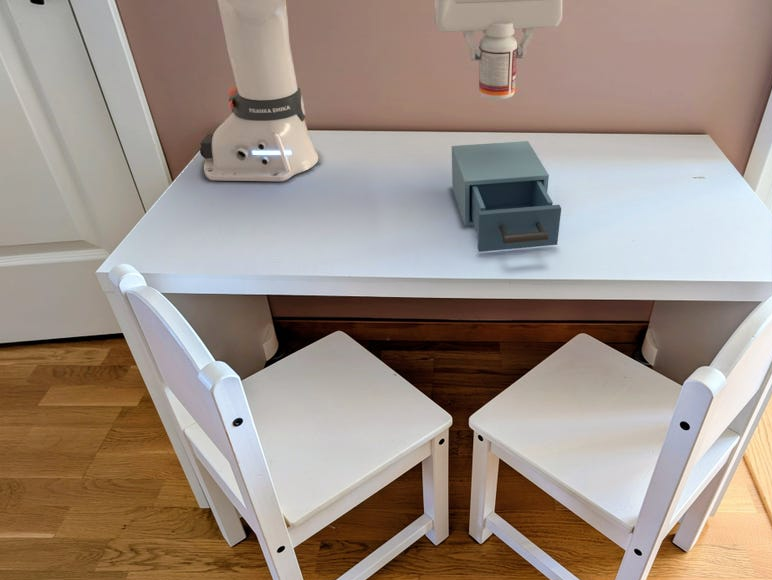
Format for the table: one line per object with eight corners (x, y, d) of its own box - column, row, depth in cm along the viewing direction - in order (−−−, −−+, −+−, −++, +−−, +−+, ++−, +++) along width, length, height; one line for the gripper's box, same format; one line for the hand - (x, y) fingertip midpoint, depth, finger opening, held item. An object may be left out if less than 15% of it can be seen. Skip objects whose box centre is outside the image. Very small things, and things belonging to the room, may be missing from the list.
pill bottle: (498, 85, 107) (500, 13, 100) (522, 95, 104) (526, 21, 96) (471, 93, 104) (471, 19, 97) (495, 103, 101) (496, 27, 93)
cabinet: (544, 220, 110) (549, 175, 104) (465, 226, 108) (464, 181, 102) (525, 183, 120) (528, 140, 115) (452, 189, 118) (451, 145, 112)
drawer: (565, 259, 99) (569, 221, 94) (483, 267, 97) (484, 229, 92) (536, 206, 112) (539, 171, 107) (464, 212, 110) (464, 176, 105)
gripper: (560, -47, 95) (552, 49, 104) (430, -43, 92) (434, 55, 101) (573, -39, 90) (563, 61, 100) (436, -35, 87) (439, 67, 96)
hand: (497, 58), depth 100 cm, fingers closed on pill bottle, 6 cm apart
